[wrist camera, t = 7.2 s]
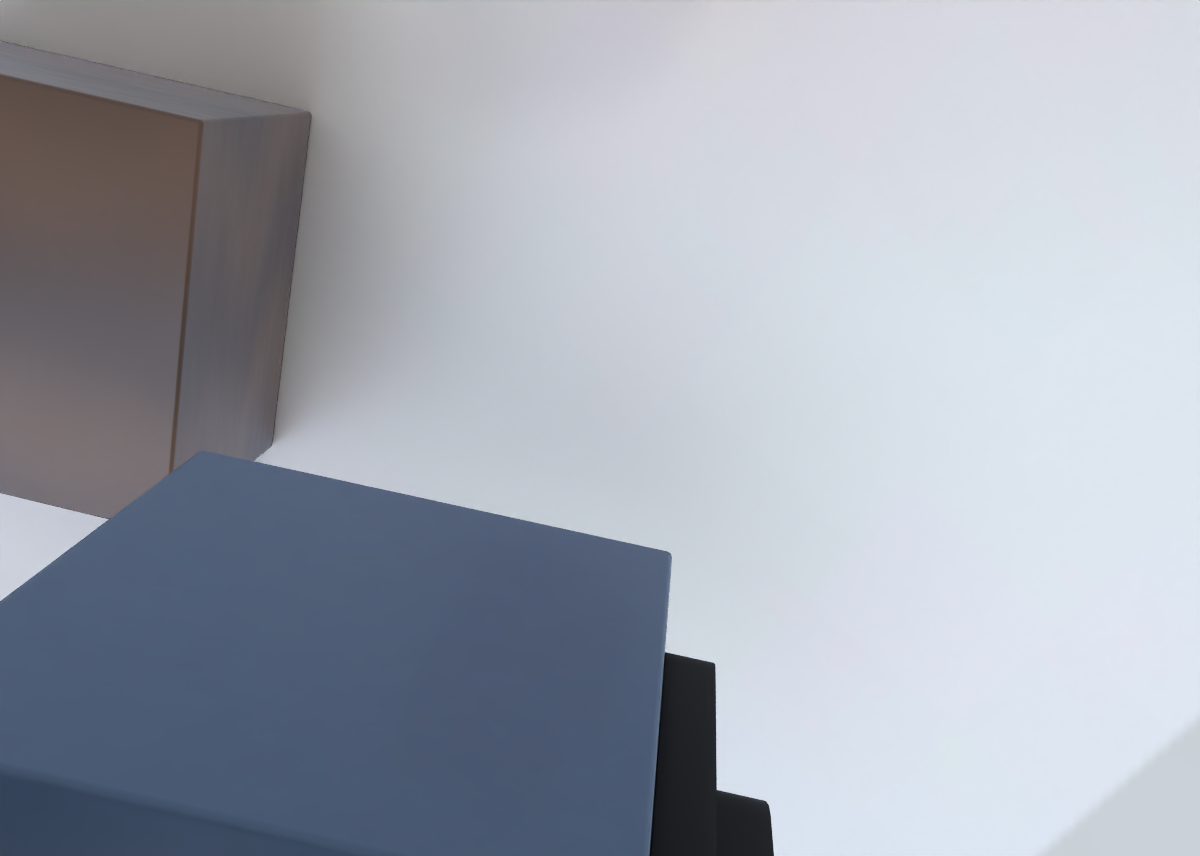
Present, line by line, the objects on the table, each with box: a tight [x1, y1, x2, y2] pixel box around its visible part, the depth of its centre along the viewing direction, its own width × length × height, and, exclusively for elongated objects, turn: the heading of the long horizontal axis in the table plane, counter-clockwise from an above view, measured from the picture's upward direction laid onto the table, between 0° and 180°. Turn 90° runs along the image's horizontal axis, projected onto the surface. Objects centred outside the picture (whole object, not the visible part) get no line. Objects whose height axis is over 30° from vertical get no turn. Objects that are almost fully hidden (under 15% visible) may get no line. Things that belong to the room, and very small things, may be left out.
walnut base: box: [0, 41, 311, 519], centre depth 25 cm, size 9×9×6 cm
